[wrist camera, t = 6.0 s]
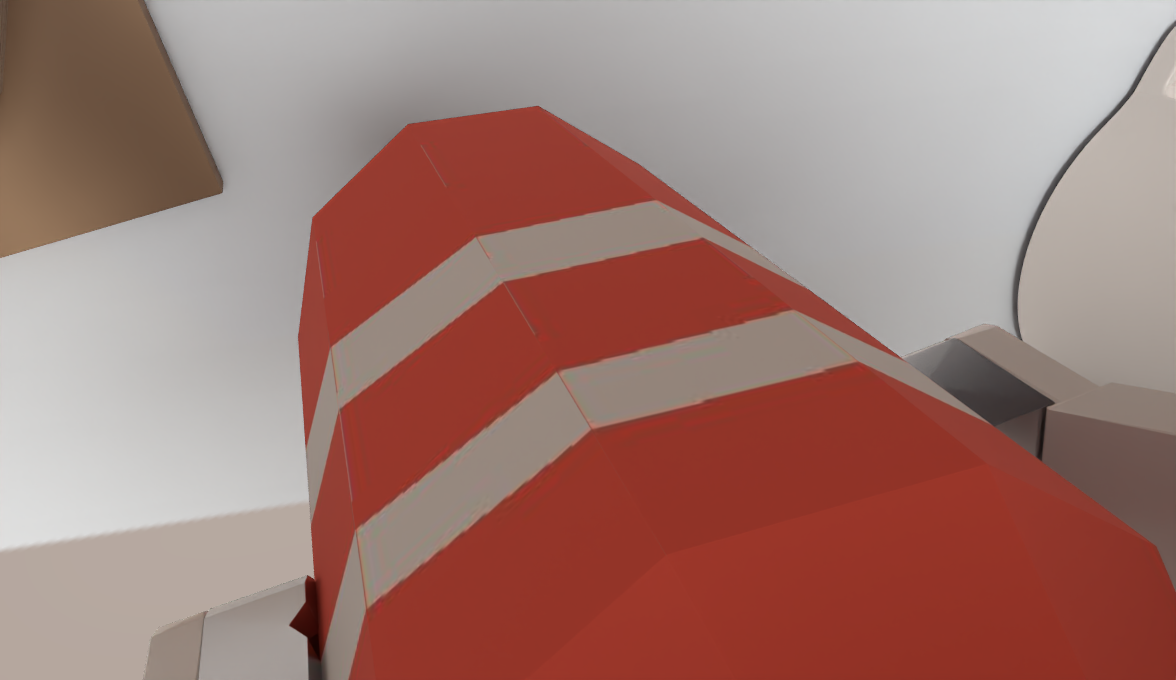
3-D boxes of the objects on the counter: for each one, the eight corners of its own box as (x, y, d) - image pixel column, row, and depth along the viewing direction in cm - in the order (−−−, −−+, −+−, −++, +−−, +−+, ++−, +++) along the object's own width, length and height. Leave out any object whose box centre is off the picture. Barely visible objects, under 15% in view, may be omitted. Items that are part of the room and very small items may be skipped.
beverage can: (414, 492, 16) (653, 1473, 6) (218, 202, 13) (43, 1321, 3) (695, 344, 17) (1336, 1023, 7) (577, 28, 13) (1515, 443, 3)
